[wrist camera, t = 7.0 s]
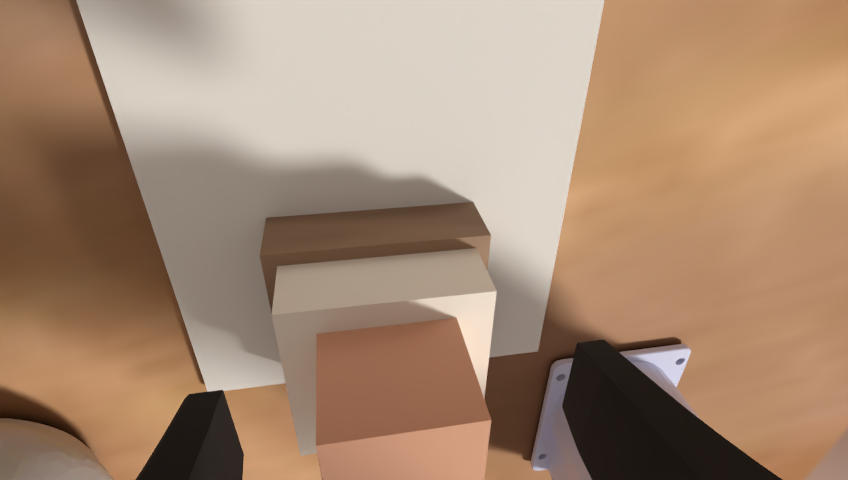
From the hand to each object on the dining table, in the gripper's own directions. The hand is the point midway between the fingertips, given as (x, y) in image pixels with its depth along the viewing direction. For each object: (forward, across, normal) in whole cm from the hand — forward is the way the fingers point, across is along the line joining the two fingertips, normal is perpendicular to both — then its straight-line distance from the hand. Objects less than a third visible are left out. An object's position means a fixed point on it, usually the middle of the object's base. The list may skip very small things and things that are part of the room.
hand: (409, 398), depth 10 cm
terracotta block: (+5, 0, +5) cm, 7 cm away
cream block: (+8, 0, +5) cm, 9 cm away
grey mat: (+10, 0, 0) cm, 11 cm away
